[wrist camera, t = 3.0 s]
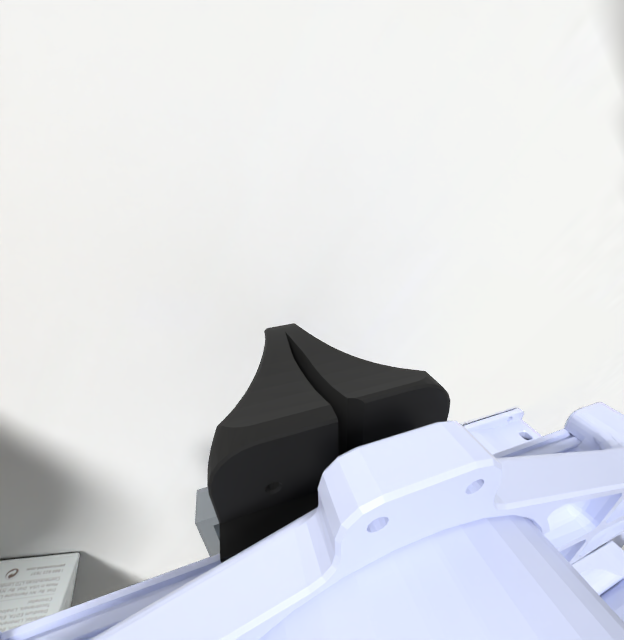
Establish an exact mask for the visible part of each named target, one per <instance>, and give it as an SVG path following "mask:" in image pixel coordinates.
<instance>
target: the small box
mask: <svg viewBox="0 0 624 640" xmlns="http://www.w3.org/2000/svg"><path fill="white" fill-rule="evenodd" d="M79 558H80V553H78V552H76V553H68V554H59V555H50V556H40V557H31V558H21V559H11V560H2V561H0V631H1V632H4V631H7V630H10V629H13V628H15V627H18V626H21V625H24V624H27V623H29V622H32V621H35V620H38V619H40V618H43V617H46V616H49V615H51V614H54V613H57V612H60V611H62V610H65V609H68V608H71V603H72V597H73V591H74V586H75V580H76V574H77V568H78V563H79Z"/></svg>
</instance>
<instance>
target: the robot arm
mask: <svg viewBox="0 0 624 640" xmlns="http://www.w3.org/2000/svg"><path fill="white" fill-rule="evenodd" d="M264 332H265V347H264V352H263V356H262V359H261V362H260V365H259V368H258V370H257V372H256V375H255V377H254V379H253V381H252V383H251V384H250V386H249V388H248V390H247V391H246V393H245V394H244V396H243V397H242V399H241V400H240V401H239V403H238V404H237V405H236V407H235V408H234V409H233V410H232V412H231V413H230V414H229V415H228V416H227V417H226V418H225V419H224V420H223V421H222V422H221V423H220V424H219V425H218V426H217V428H216V432H215V435H214V438H213V442H212V446H211V451H210V456H209V462H208V493H209V496H210V499H211V502H212V505H213V507H214V510H215V513H216V515H217V518H218V521H219V527H220V554H217V555H214V556H211V557H209V558H206V559H203V560H200V561H198V562H195V563H192V564H189V565H186V566H184V567H181V568H178V569H175V570H173V571H170V572H167V573H164V574H162V575H159V576H156V577H153V578H151V579H148V580H145V581H142V582H140V583H137V584H134V585H131V586H129V587H126V588H123V589H120V590H118V591H115V592H112V593H109V594H106V595H104V596H101V597H98V598H95V599H93V600H90V601H87V602H84V603H82V604H79V605H76V606H73V607H71V608H68V609H65V610H62V611H60V612H57V613H54V614H51V615H49V616H46V617H43V618H40V619H38V620H35V621H32V622H29V623H27V624H24V625H21V626H18V627H15V628H13V629H10V630H7V631H4V632H1V631H0V640H624V551H623V550H622V549H621V548H622V547H623V545H624V415H623V414H621V413H620V412H618V411H616V410H614V409H613V408H611V407H609V406H608V405H606V404H604V403H602V402H597V403H594V404H591V405H589V406H586V407H583V408H580V409H578V410H576V411H574V412H573V413H572V414H571V415H570V416H569V418H568V419H567V421H566V423H565V428H564V429H562V430H559V431H556V432H553V433H551V434H548V435H545V436H541V435H540V434H539V433H538V432H536V431H535V430H534V429H533V428H531V427H530V426H529V425H528V424H526V423H525V422H524V421H523V420H522V417H523V415H524V412H523V411H522V410H521V409H519V408H518V409H514V410H511V411H508V412H505V413H502V414H498V415H495V416H492V417H489V418H486V419H483V420H480V421H476V422H473V423H470V424H467V425H464V426H463V425H461V424H460V423H458V422H457V421H447V417H448V413H449V408H450V398H449V394H448V393H447V391H446V390H445V389H444V388H443V387H442V386H441V385H440V384H439V383H438V382H437V381H436V380H434V379H433V378H432V377H431V376H430V375H429V374H428V373H427V372H426V371H419V370H411V369H402V368H396V367H391V366H386V365H381V364H377V363H373V362H370V361H366V360H363V359H360V358H357V357H354V356H351V355H349V354H347V353H344V352H342V351H339V350H337V349H335V348H333V347H331V346H329V345H327V344H326V343H324V342H322V341H320V340H319V339H317V338H315V337H314V336H312V335H311V334H309V333H308V332H306V331H305V330H303V329H302V328H300V327H299V326H297V325H296V324H288V325H283V326H277V327H272V328H267V329H266V330H265V331H264Z"/></svg>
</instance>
